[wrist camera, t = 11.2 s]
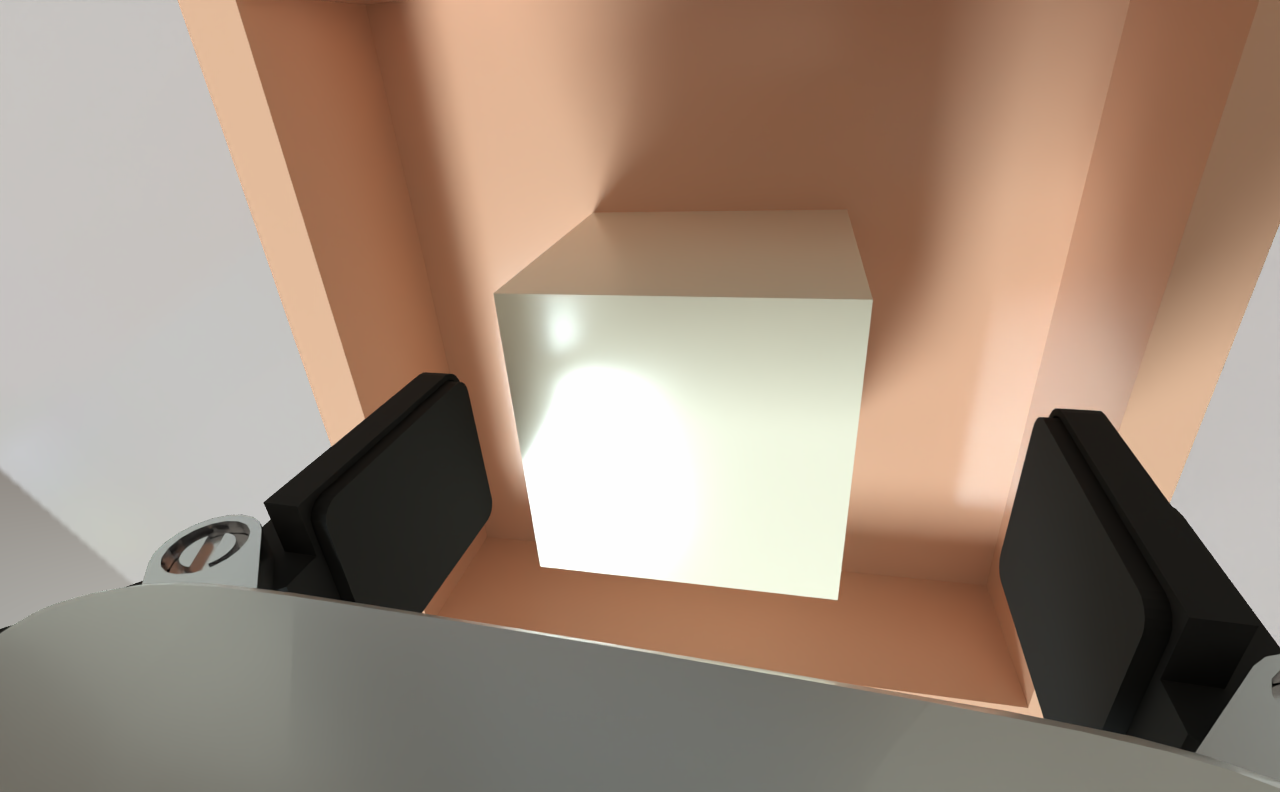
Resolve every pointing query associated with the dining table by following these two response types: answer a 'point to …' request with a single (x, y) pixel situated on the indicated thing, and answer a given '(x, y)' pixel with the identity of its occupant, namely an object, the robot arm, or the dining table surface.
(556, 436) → the stone block
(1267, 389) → the dining table surface
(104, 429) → the dining table surface
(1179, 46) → the tub
